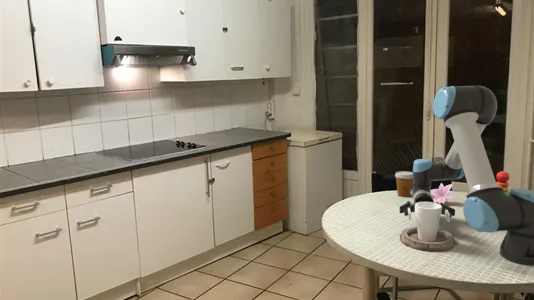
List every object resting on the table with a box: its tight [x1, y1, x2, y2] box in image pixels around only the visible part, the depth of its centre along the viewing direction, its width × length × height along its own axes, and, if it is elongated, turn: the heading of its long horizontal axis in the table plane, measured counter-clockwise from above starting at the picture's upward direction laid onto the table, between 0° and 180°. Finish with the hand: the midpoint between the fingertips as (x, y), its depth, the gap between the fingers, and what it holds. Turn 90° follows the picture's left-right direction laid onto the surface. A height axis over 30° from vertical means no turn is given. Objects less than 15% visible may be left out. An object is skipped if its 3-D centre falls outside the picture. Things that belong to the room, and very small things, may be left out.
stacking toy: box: [496, 170, 510, 195], centre depth 195 cm, size 8×8×19 cm
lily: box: [431, 182, 454, 205], centre depth 212 cm, size 12×12×10 cm
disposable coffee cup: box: [394, 170, 413, 198], centre depth 226 cm, size 10×10×12 cm
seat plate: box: [399, 226, 457, 253], centre depth 165 cm, size 20×20×2 cm
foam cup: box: [415, 202, 442, 242], centre depth 164 cm, size 10×9×13 cm
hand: (429, 217), depth 160 cm, fingers open, 13 cm apart
